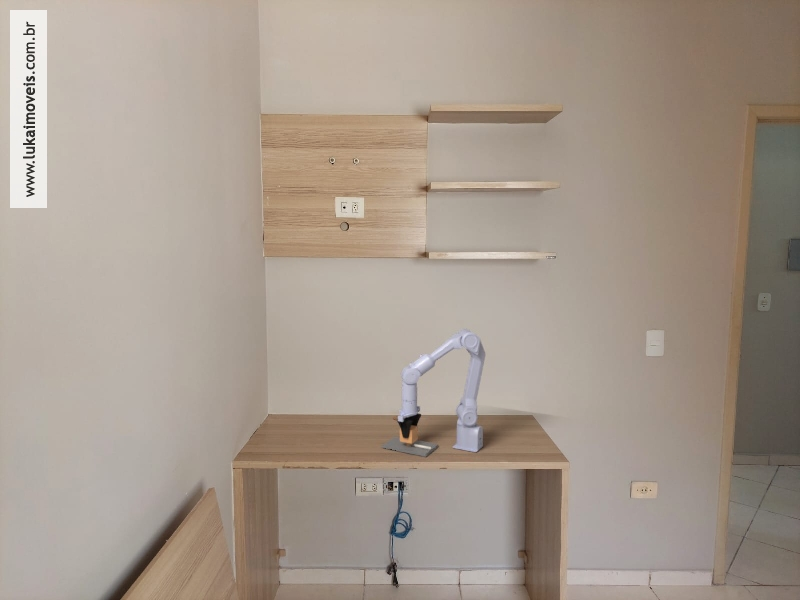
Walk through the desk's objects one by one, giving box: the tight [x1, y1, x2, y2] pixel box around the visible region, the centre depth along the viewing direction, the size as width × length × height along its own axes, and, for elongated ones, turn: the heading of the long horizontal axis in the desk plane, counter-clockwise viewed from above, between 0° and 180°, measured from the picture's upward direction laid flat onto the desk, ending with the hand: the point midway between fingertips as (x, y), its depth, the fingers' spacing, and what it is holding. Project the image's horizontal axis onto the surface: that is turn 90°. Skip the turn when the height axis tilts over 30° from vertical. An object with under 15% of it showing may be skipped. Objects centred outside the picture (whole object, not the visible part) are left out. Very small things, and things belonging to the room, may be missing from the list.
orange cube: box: [399, 425, 419, 444], centre depth 191 cm, size 5×5×5 cm
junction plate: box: [381, 435, 439, 457], centre depth 192 cm, size 18×11×4 cm, turn 62°
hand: (409, 435), depth 191 cm, fingers closed on orange cube, 5 cm apart
